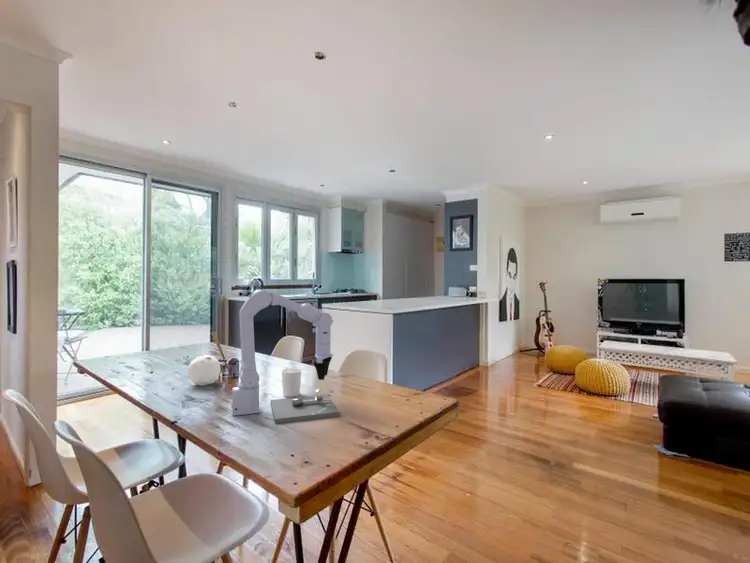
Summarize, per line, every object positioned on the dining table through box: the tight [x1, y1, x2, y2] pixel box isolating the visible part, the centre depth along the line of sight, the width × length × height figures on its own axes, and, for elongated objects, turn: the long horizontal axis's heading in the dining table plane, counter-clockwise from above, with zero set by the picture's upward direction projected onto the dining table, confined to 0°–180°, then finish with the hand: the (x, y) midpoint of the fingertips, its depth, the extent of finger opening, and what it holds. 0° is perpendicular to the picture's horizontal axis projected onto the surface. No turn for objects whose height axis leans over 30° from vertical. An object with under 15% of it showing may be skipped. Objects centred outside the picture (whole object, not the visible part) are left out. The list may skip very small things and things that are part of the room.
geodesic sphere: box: [187, 354, 221, 387], centre depth 167 cm, size 14×14×14 cm
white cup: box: [281, 367, 302, 398], centre depth 154 cm, size 8×8×10 cm
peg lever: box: [292, 388, 332, 406], centre depth 139 cm, size 14×4×4 cm, turn 110°
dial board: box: [269, 394, 340, 424], centre depth 137 cm, size 22×20×2 cm
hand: (322, 377), depth 146 cm, fingers open, 5 cm apart
